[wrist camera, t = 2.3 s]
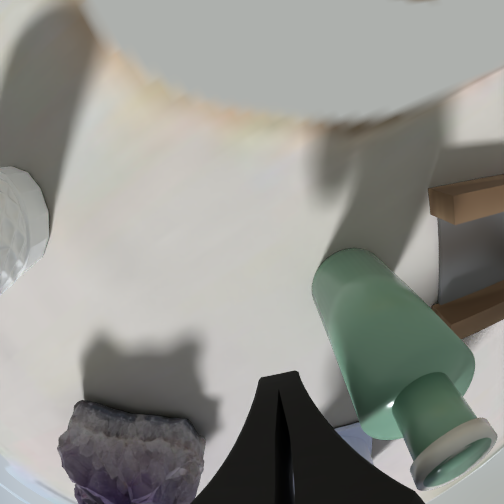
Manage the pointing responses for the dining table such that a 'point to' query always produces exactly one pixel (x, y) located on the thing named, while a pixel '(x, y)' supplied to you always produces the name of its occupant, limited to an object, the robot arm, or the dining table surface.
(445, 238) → the cradle
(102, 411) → the geode
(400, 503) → the robot arm
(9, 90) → the dining table surface
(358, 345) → the bottle
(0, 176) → the white cup
